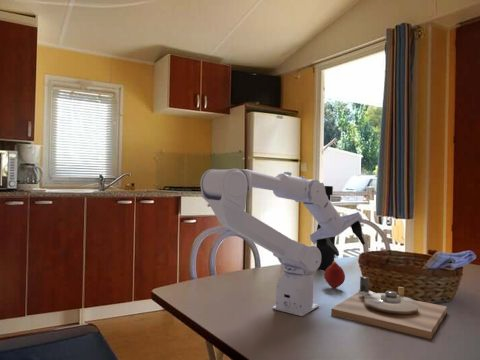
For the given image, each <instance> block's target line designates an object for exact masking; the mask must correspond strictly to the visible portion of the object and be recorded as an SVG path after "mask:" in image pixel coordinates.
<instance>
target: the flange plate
mask: <svg viewBox="0 0 480 360" xmlns="http://www.w3.org/2000/svg"><path fill="white" fill-rule="evenodd" d="M358 292H359V295H362V296H364V303H365V304H366V305H367V306H368V307H370V308H373V309H375V310H379V311H382V312H387V313H394V314H412V313H416V312H417V311H418V306H419V304H418V303H417V302H416V301H417V300H416V301H415V299H412V298H410V297H407V296H405V295H404V296H400V295H398V292H396V291H393V290H386V291H385V292H374V291H371V290H370V277H368V276H360V279H359V289H358Z"/></svg>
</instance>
